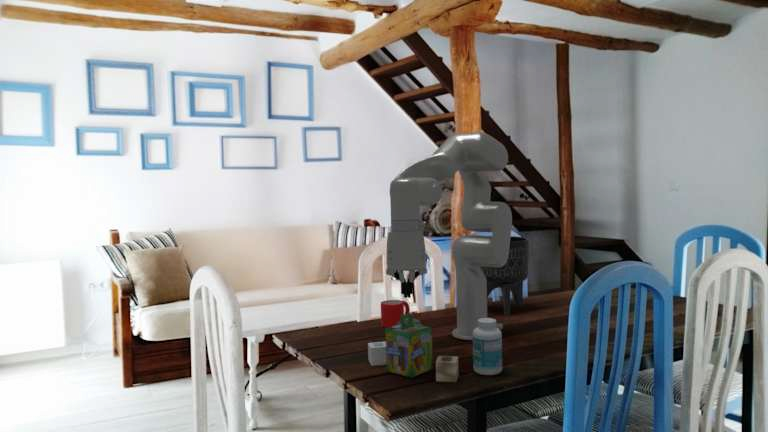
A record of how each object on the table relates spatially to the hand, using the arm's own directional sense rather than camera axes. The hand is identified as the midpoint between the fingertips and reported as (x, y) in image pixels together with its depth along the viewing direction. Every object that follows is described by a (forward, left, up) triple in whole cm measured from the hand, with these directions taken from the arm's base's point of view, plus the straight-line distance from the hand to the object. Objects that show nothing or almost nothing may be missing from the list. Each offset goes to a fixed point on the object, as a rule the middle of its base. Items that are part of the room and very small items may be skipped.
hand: (407, 296), depth 155 cm
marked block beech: (-9, +7, -20) cm, 23 cm away
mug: (+1, -49, -20) cm, 53 cm away
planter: (-39, -63, -20) cm, 77 cm away
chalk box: (0, 0, -20) cm, 20 cm away
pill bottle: (-20, +3, -20) cm, 28 cm away
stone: (-1, -20, -20) cm, 28 cm away
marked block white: (+8, -8, -20) cm, 23 cm away
